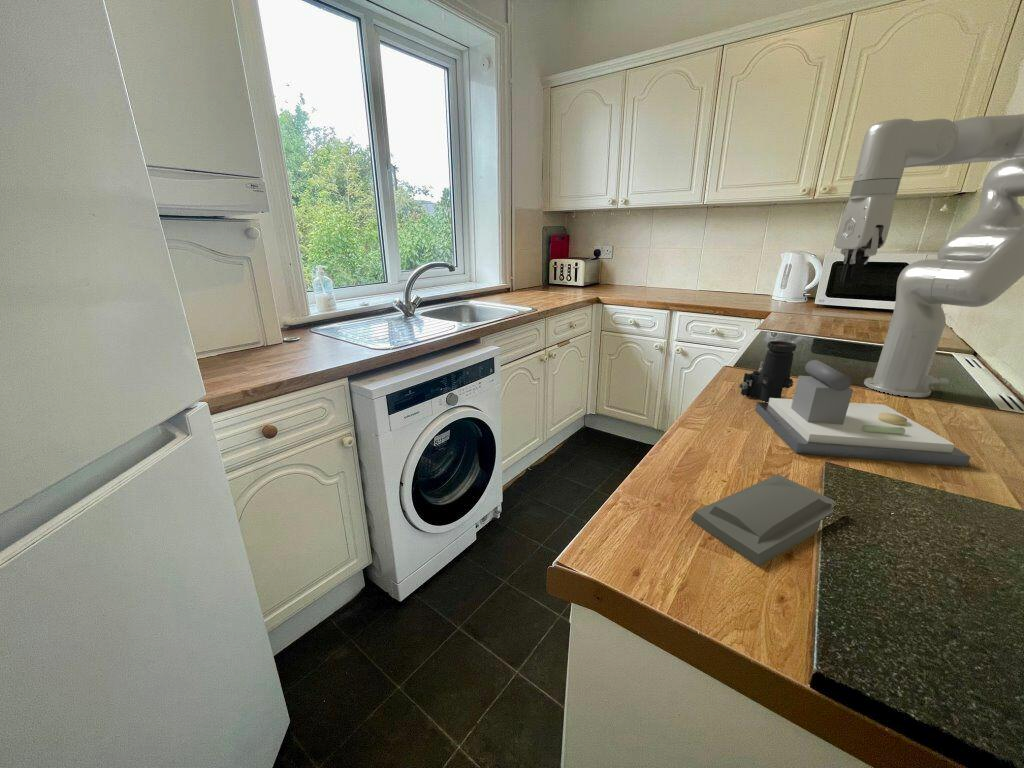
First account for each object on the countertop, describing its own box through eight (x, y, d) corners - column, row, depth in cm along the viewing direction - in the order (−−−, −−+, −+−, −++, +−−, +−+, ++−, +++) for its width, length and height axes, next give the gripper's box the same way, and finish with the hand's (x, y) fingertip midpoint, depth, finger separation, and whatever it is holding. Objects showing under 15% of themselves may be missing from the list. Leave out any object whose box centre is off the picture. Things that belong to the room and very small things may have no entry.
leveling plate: (882, 411, 86) (899, 358, 83) (951, 452, 70) (977, 388, 66) (768, 404, 90) (779, 353, 86) (807, 441, 73) (824, 380, 70)
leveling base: (887, 418, 88) (890, 410, 87) (966, 466, 69) (970, 456, 68) (754, 410, 92) (756, 401, 91) (795, 453, 74) (798, 443, 73)
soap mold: (847, 519, 57) (854, 498, 56) (758, 571, 48) (764, 547, 47) (773, 483, 66) (778, 463, 65) (686, 521, 57) (690, 500, 56)
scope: (766, 336, 100) (810, 345, 92) (755, 389, 105) (796, 402, 96) (745, 340, 96) (790, 349, 88) (735, 395, 101) (776, 409, 93)
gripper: (833, 195, 92) (813, 279, 98) (876, 187, 78) (850, 286, 84) (871, 194, 90) (849, 280, 96) (922, 186, 77) (892, 287, 83)
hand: (849, 282), depth 90 cm, fingers closed
